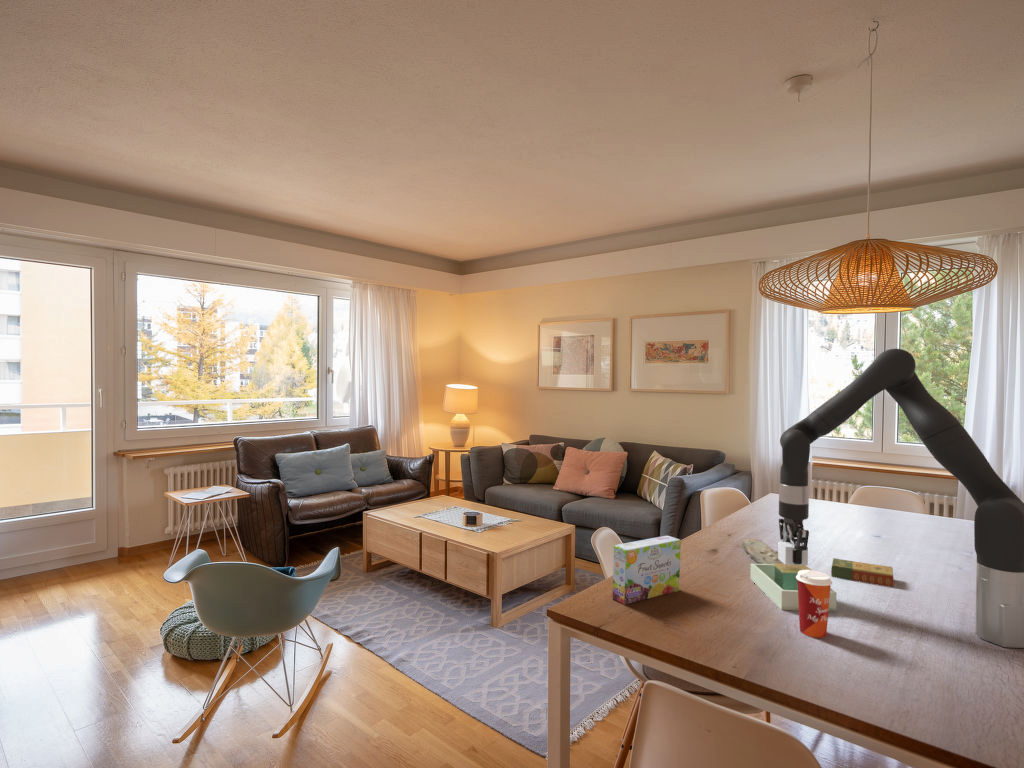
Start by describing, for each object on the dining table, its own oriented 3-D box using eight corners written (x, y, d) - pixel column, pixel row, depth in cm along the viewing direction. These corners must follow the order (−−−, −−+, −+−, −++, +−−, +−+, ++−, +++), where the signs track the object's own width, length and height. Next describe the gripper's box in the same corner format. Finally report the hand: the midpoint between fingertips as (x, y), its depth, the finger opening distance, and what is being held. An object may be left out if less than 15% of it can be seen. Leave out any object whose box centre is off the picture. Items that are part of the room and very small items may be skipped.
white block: (807, 565, 155) (808, 547, 155) (785, 564, 155) (785, 546, 155) (799, 559, 160) (800, 542, 160) (778, 558, 160) (778, 541, 160)
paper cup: (816, 642, 129) (817, 581, 129) (787, 628, 136) (788, 571, 136) (839, 636, 132) (840, 577, 132) (810, 623, 139) (811, 567, 139)
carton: (893, 589, 164) (893, 574, 164) (830, 578, 173) (831, 564, 173) (892, 580, 171) (892, 566, 171) (832, 570, 180) (832, 556, 180)
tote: (836, 611, 146) (836, 592, 146) (781, 609, 147) (781, 590, 147) (797, 581, 168) (798, 564, 168) (750, 579, 169) (750, 563, 169)
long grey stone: (763, 549, 206) (735, 550, 207) (763, 535, 206) (734, 535, 207) (801, 577, 171) (767, 578, 172) (800, 560, 171) (766, 560, 172)
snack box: (626, 606, 149) (626, 549, 148) (611, 599, 153) (612, 544, 153) (680, 591, 160) (681, 538, 160) (665, 584, 165) (666, 533, 164)
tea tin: (813, 596, 154) (813, 571, 154) (782, 595, 155) (782, 570, 155) (803, 588, 160) (803, 564, 160) (773, 588, 161) (773, 563, 160)
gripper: (819, 506, 150) (818, 569, 150) (795, 495, 165) (794, 553, 165) (791, 505, 151) (790, 568, 151) (769, 494, 165) (768, 552, 165)
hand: (792, 560), depth 158 cm, fingers closed on white block, 5 cm apart
